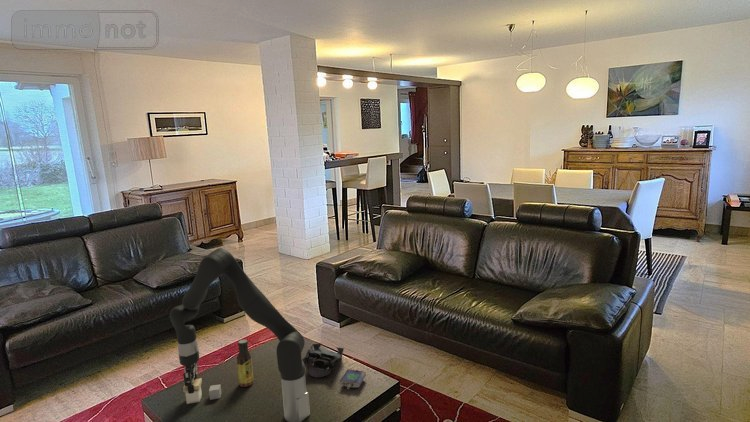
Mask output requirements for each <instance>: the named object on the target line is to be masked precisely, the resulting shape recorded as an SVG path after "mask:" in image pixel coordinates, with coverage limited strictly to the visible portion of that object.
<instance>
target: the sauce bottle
mask: <svg viewBox="0 0 750 422" xmlns="http://www.w3.org/2000/svg"><path fill="white" fill-rule="evenodd" d="M248 343H249V341H248V340H247V339H241V340H239V341H237V346H238V353H237V356H236V364H237V365H236V366H237V377H238V384H239V386H240V387H241V388H246V387H247V388H248V387H250V386H252V385H253V383H254V371H253V369H254V368H253V358H252V356H251V353H250V351H249V348H248V346H249V345H248Z"/></svg>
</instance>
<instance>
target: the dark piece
mask: <svg viewBox="0 0 750 422" xmlns="http://www.w3.org/2000/svg"><path fill="white" fill-rule="evenodd" d="M322 344H323V343H312V345H311V346H310V348H309V349H308V350H307V352H306V354H305V355H304V357H303V358H301V359H302V363H303V365H304V367H305V370H306V372H307V374H308V376H311V377H314V378H323V377H326V376H328V375H330V374H331V373H332V368H333V367H334V366H336V362H337V361H338V360H340V358H343V354H344V348H343V347H336V350H337V351H338V352H334V351H332V350H328V349H322V348H320V347H321V346H322Z"/></svg>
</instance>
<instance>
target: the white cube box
mask: <svg viewBox="0 0 750 422" xmlns="http://www.w3.org/2000/svg"><path fill="white" fill-rule="evenodd" d="M184 393H185V402H186V405H189V404H197V403H200V402H201V399H202V396H203V393H202V386H201V387H200V389H199V390H197V391H194V393H191V394H189V393H188V392H184Z"/></svg>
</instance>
